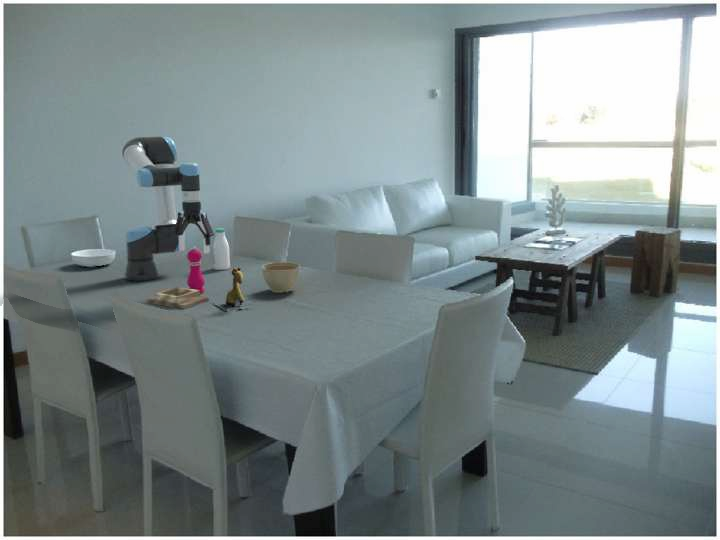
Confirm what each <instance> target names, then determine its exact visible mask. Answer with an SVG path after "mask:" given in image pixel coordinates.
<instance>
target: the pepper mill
mask: <svg viewBox="0 0 720 540" xmlns="http://www.w3.org/2000/svg"><path fill="white" fill-rule="evenodd" d="M202 254H203V253H202V252H201V251H200V250H198V249H197V247H196V246H195V245H193V246H192V247H191V250H189V251H188V252H187V255H186V257H187V260H188V266H189V274H188V277H187V281H186V285H187V286H188V287H189V288H188V289H193V290H200V293H201V294H203V293H204V292H205V288H204V285H205V282H206V281H205V277H204V276H203V274H202V271H201V265H202V261H201V259H202V257H203V255H202Z"/></svg>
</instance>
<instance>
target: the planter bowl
mask: <svg viewBox="0 0 720 540" xmlns="http://www.w3.org/2000/svg"><path fill="white" fill-rule="evenodd" d="M300 269H301V265H300V264H299V263H296V262H289V261H282V262H281V261H279V262H269V263H266V264H265V263H264V264H263V265H262V266H261V270H262V275H263V279H264V282H265V283H266V285H267V286H268V288H270V289H269V290H270V292H272V293H277V294H283V292H286V293H290V292H289V291H291V292H292V291H294V287H295V286H296V284H297V282H298V280H299V277H300Z"/></svg>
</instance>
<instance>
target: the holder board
mask: <svg viewBox="0 0 720 540" xmlns="http://www.w3.org/2000/svg"><path fill="white" fill-rule="evenodd" d="M206 301H207V302H209V301H210V297H209V296H205V295H204V296H203V295H201V294H200V290H193V289H189V288H187V287H186V288H185V287H178V286H176V287H173V288H169V289H166V290H163V291H159V292H156V293H154V296H152V297H149V298H147V299H146V302H147V303H148V304H152V305H153V304H154V305H159V306H166V307H171V308H178V309H183V310H185V309H189V308H191V306H192V307H194V305H195V306H198V305H200V303H201V304H203V303H202V302H204V303H207V302H206ZM197 304H198V305H197Z"/></svg>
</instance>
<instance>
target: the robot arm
mask: <svg viewBox="0 0 720 540" xmlns="http://www.w3.org/2000/svg"><path fill="white" fill-rule="evenodd" d="M121 152H122V153H121V154H122V158H123V160H124V161H125V163H126V164H128V165H129V166H131V167H132V168H133V169H134V171H136V180H137V183H138V186H139V187H141V188H153V189H154V190H153V191H154V198H155V209H156V218H157V221H156V223H155V224H154V228H152V226H148V225H147V226H138V227H134V228H130V229H128V230H127V231H126V232H125V245H126V258H127V264H126V268H125V272H124V279H125V280H126V279H127V280H126V281H130V280H138V281H137V282H140V280H145V281H151V280H155V279H157V278H159V277H160V273H159V270H158V268H157V265H156V263H155V262H156V261H155V259H154V258H155V257H154V255H159V254H169V253H173V254H174V253H177V252H182V251H186V241H187V239H186V238H187V237H186V236H187V234H186V229H187V228H188V226H189V224H191V225H195V226H197V228H198V229H199V232H201V234H202V235H203V237H202V241H203V242H202V243H203V254H209V253H210V245H211V237H212V236H214V235H215V233H214V231H213V229H212V226H211V224H210V221H209V219H208V213H206V212H203V213H201V210H202V202H201V200H202V199H201V185H200V183H201V182H200V168H199V164H198V163H196V162H195V163H194V162H193V163H192V162H189V163H187V162H185V163H181V164H180V165H179V166H176V167H174V166H175V162H177V160H178V151H177V146H176V144H175V142H174V140H173V139H172V138H171V137H170V136H169V137H168V136H147V137H146V136H144V137H143V136H139V137H134V138H132V139H130V140H128V141H127V142H125V144H124V145H123V147H122V151H121ZM174 186H175V187H176V186H180V191H181V200H182V203H181V205H182V207H181V208H182V211H179V212H177V211H176V202H175V201H176V200H175V193H174ZM150 279H151V280H150Z"/></svg>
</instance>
